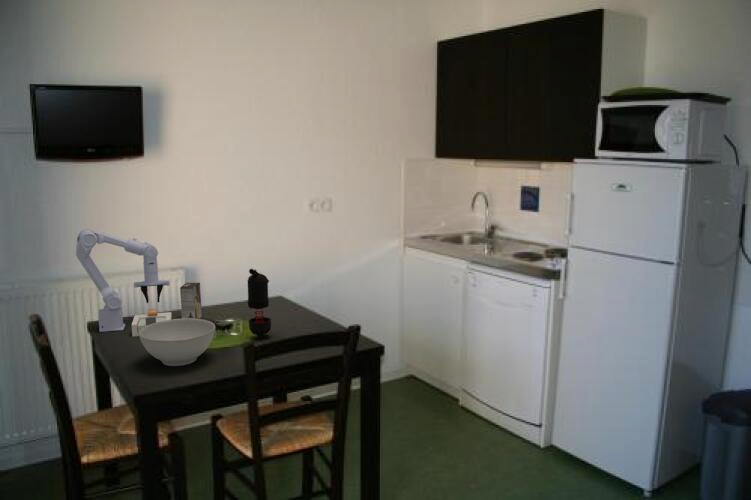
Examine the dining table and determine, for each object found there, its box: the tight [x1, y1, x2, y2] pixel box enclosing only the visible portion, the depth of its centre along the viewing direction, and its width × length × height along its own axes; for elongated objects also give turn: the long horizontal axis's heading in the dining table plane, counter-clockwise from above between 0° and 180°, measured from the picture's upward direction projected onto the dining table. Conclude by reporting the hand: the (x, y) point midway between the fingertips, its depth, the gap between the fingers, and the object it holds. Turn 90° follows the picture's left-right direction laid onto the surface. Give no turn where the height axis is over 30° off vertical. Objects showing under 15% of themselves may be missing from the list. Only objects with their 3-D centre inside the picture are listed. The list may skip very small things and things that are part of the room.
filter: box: [247, 268, 272, 339], centre depth 255 cm, size 14×9×30 cm
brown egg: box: [146, 308, 159, 316], centre depth 271 cm, size 4×4×4 cm
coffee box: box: [179, 282, 203, 319], centre depth 280 cm, size 9×6×16 cm
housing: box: [131, 311, 172, 337], centre depth 266 cm, size 15×15×5 cm
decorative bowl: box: [138, 317, 216, 367], centre depth 230 cm, size 27×27×12 cm
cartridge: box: [138, 317, 165, 333], centre depth 263 cm, size 10×10×6 cm
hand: (153, 302), depth 274 cm, fingers open, 4 cm apart
